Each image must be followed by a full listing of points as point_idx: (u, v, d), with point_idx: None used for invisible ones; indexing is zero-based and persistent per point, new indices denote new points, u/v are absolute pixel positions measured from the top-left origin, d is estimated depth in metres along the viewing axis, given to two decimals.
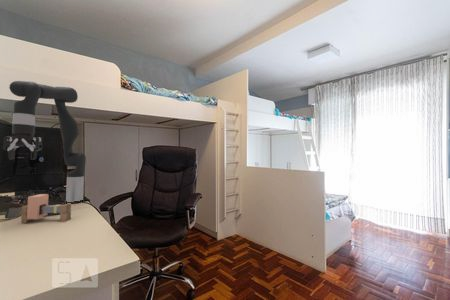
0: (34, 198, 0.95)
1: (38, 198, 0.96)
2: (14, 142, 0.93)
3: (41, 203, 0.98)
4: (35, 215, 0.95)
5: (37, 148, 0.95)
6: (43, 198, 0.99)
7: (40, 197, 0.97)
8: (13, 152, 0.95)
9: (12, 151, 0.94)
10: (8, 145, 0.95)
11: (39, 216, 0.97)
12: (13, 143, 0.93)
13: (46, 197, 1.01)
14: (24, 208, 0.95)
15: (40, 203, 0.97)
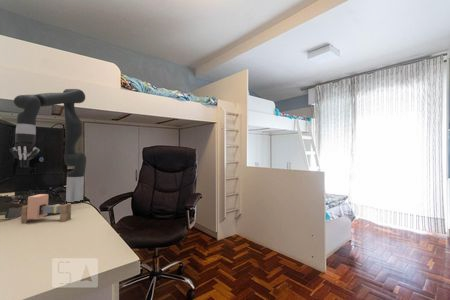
0: (34, 198, 0.95)
1: (38, 198, 0.96)
2: (19, 150, 1.05)
3: (41, 203, 0.98)
4: (35, 215, 0.95)
5: (29, 157, 1.06)
6: (43, 198, 0.99)
7: (40, 197, 0.97)
8: None
9: None
10: (18, 155, 1.07)
11: (39, 216, 0.97)
12: (19, 151, 1.05)
13: (46, 197, 1.01)
14: (24, 208, 0.95)
15: (40, 203, 0.97)
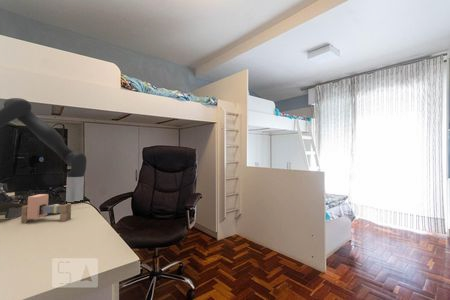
0: (34, 198, 0.95)
1: (38, 198, 0.96)
2: None
3: (41, 203, 0.98)
4: (35, 215, 0.95)
5: None
6: (43, 198, 0.99)
7: (40, 197, 0.97)
8: None
9: None
10: None
11: (39, 216, 0.97)
12: None
13: (46, 197, 1.01)
14: (24, 208, 0.95)
15: (40, 203, 0.97)
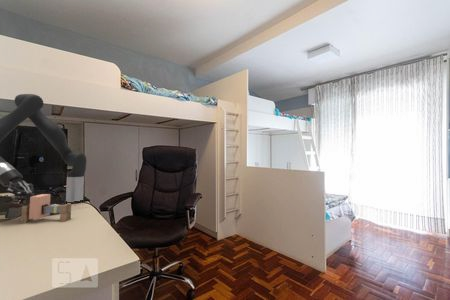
0: (36, 198, 0.95)
1: (40, 198, 0.96)
2: None
3: (43, 203, 0.98)
4: (37, 215, 0.95)
5: None
6: (45, 198, 0.99)
7: (42, 197, 0.97)
8: None
9: None
10: None
11: (41, 216, 0.97)
12: None
13: (48, 197, 1.01)
14: (24, 208, 0.95)
15: (42, 203, 0.97)
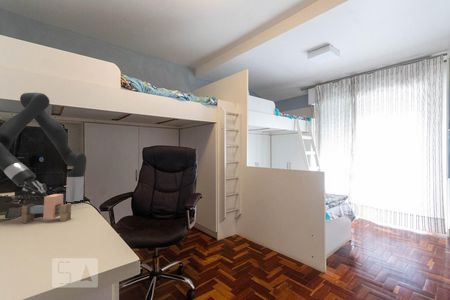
0: (50, 198, 0.96)
1: (54, 198, 0.97)
2: None
3: (57, 203, 0.99)
4: (51, 215, 0.96)
5: None
6: (58, 198, 1.00)
7: (56, 197, 0.98)
8: None
9: None
10: None
11: (55, 216, 0.98)
12: None
13: (61, 197, 1.02)
14: (24, 208, 0.95)
15: (56, 203, 0.98)
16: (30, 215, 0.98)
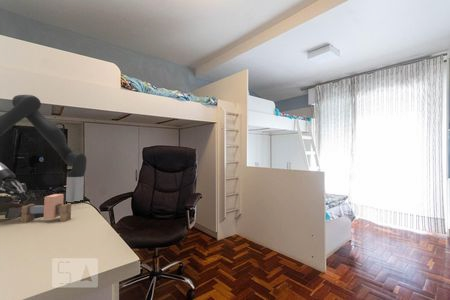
0: (50, 198, 0.96)
1: (54, 198, 0.97)
2: None
3: (57, 203, 0.99)
4: (52, 215, 0.96)
5: None
6: (59, 198, 1.00)
7: (56, 197, 0.98)
8: None
9: None
10: None
11: (55, 216, 0.98)
12: None
13: (61, 197, 1.02)
14: (24, 208, 0.95)
15: (56, 203, 0.98)
16: (30, 215, 0.98)
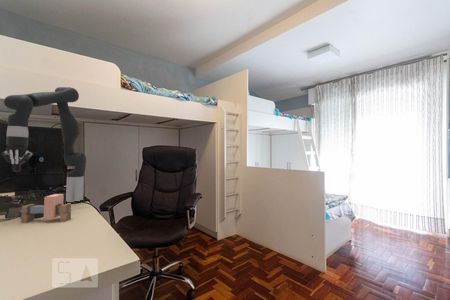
0: (50, 198, 0.96)
1: (54, 198, 0.97)
2: (11, 154, 0.99)
3: (57, 203, 0.99)
4: (52, 215, 0.96)
5: (21, 161, 1.00)
6: (59, 198, 1.00)
7: (56, 197, 0.98)
8: None
9: None
10: (10, 159, 1.01)
11: (55, 216, 0.98)
12: (11, 155, 0.99)
13: (61, 197, 1.02)
14: (24, 208, 0.95)
15: (56, 203, 0.98)
16: (30, 215, 0.98)
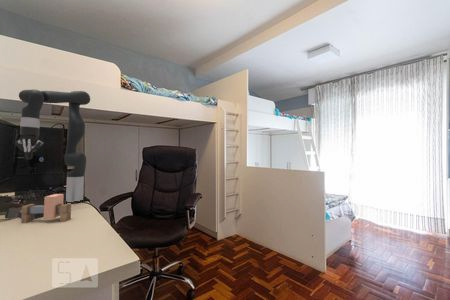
0: (50, 198, 0.96)
1: (54, 198, 0.97)
2: (24, 143, 1.09)
3: (57, 203, 0.99)
4: (52, 215, 0.96)
5: (33, 149, 1.10)
6: (59, 198, 1.00)
7: (56, 197, 0.98)
8: None
9: None
10: None
11: (55, 216, 0.98)
12: (24, 144, 1.09)
13: (61, 197, 1.02)
14: (24, 208, 0.95)
15: (56, 203, 0.98)
16: (30, 215, 0.98)
